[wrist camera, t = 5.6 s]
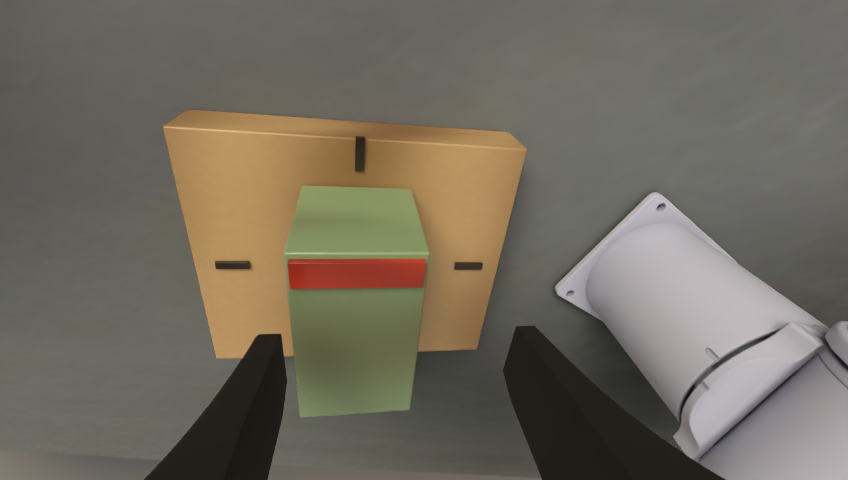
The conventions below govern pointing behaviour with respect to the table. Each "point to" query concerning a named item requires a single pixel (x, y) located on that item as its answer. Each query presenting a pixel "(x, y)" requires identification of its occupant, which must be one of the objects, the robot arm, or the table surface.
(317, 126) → the tan flat block
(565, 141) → the table surface
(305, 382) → the box
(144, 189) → the table surface
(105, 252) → the table surface
